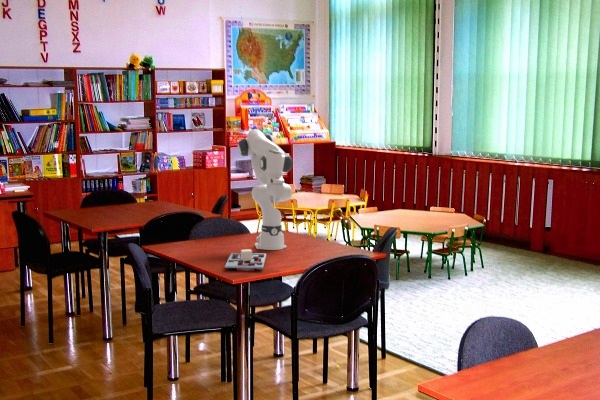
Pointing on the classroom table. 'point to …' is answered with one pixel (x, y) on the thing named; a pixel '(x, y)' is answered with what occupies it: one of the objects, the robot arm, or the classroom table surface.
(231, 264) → the maze game
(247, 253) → the cream cube
